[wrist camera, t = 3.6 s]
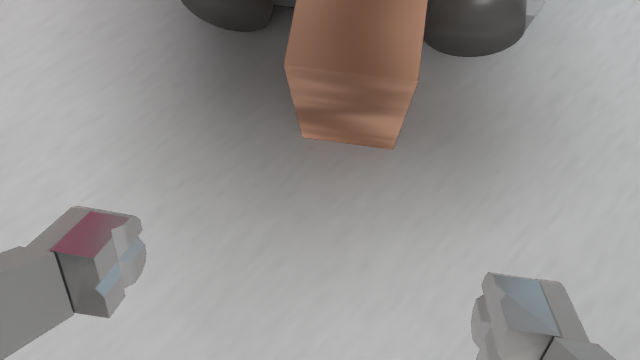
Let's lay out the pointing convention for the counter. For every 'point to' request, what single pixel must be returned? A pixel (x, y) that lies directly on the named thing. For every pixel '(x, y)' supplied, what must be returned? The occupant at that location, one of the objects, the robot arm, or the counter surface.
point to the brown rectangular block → (354, 67)
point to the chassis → (439, 32)
